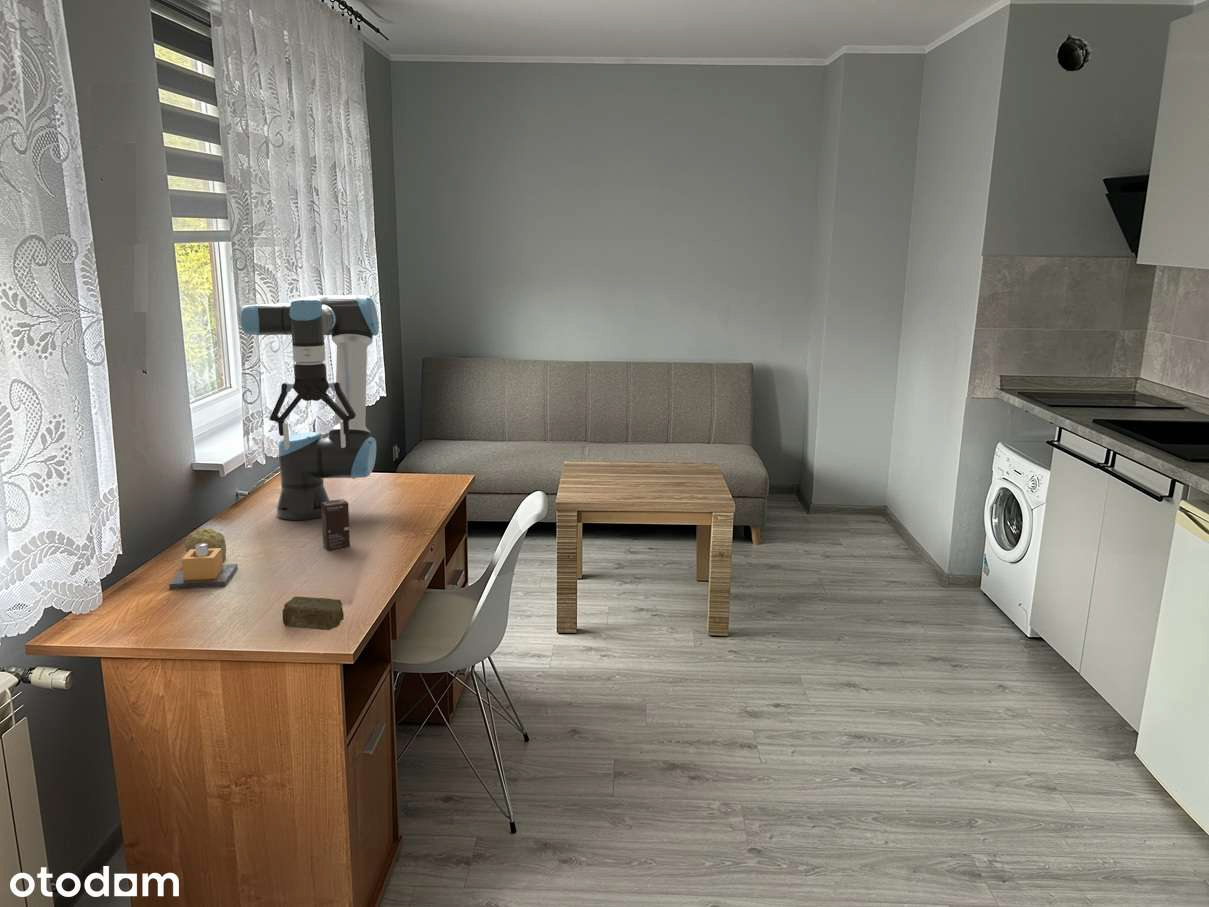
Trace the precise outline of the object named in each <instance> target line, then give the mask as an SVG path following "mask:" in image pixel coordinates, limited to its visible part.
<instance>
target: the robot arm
mask: <svg viewBox="0 0 1209 907" xmlns="http://www.w3.org/2000/svg"><path fill="white" fill-rule="evenodd" d="M379 323H380V322H379V316H378V313H377V307H376V304H375V302H374V299H373V298H372V297H370V296H368V295H358V294H355V295H354V294H353V295H352V294H351V295H349V294H348V295H344V294H343V295H341V294H339V295H327V294H326V295H321V294H320V295H315V296H314V295H313V296H308V297H302V298H295V299H291V300H290V302H289V303H275V304H274V303H273V304H249V305H248V304H247V305H244V306H243V307H242V308H241V312H240V326H241V329H242V331H243V332H244V334H246V335H251V336H252V335H253V336H276V335H277V336H281V335H284V336H289V335H290V336H291V341H292V344H291V345H292V361H293V362H294V363H295V364H294V365H293V373H294V382H293V383H289V382H288V381H285V382H283V383H282V384H281V385H280V386H281V388H280V389H281V390H280V393H279V395H278V396H279V397H278V399H277V400H276V404H275V406H274V407H273V410H272V411H271V412H272V413H271V415H270V417H269V420H270V421H271V422H276V423H277V425H278V435H279V436H281V437H283V438H282V439H281V440H280V441H279V442H278V455H277V456H278V460H279V471H280V483H281V490H280V494H279V499H278V501H277V505H276V516H277V517H278V518H280V519H283V520H288V521H303V520H307V521H308V520H313V519H317V518H322V510H321V502H326V501H331V500H330V498H329V494H328V493H327V490H326V488H325V485H324V479H355V480H356V479H359V478H360V479H361V478H367V477H368V476H370V475H371V474H372V472H373V470H374V467H375V463H376V458H377V440H376V439H375V438H374V437H373V436H372V435H371V431H370V430H369V429H368V428H367V426H366V417H367V416H366V414H367V413H366V411H367V410H366V408H367V406H366V405H367V373H368V371H367V370H368V367H367V364H368V347H369V346H370V345H371V344H372V343H373V338H374V337H375V336H377V335H379V333H380V332H379V331H380V326H379ZM325 336H331V341H332V342H333V343H334V344H335V345H336V364H335V366H336V368H335V372H336V373H335V382H328V379H327V378H328V376H327V364H326V363H325V361H326V360H327V358H326V345H325ZM292 389H293V390H294V392H295V393H297V395H296V396H295V397H294V399H293V400H292V401H291V403H290V404H289V405H288V406H287V407H286V409H285V410H284V411H283V413H281V415H279V414H280V410H281V408H283V404H284V403H285V400H286V399H287V398H286V397H287V395H288V393H290V392H291V390H292ZM329 389H331V390H332V391H333V392H335V400H333V398H331V396H330V395H329V393H327V392H328V390H329ZM320 400H322V401H323V402H324V403H325V404H326V405H327V406H328V407H329V408H330V409H331V410H332V411H333V412H334V425H333V426H332V428H331V429H330V430H329V431H328V437H322V435H321V433H320V432H318V431H316V432H315V431H312V432H311V431H310V432H309V431H308V432H303V433H301V432H300V433H296V434H293V435H292V434H291V435H290V433H289V430H290V429H289V422H288V421H286V419H287V417H289V416H290V414H291V413H292V411H294V409H295V408H296V406H297V405H299V403H300V401H305V402H310V401H314V402H316V401H317V402H318V401H320Z"/></svg>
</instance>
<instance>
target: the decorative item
mask: <svg viewBox="0 0 1209 907" xmlns="http://www.w3.org/2000/svg"><path fill="white" fill-rule="evenodd" d="M201 543H206V544H208V549H212V548H222V559H223V561H225V560H226V559H227V558H226V557H227V556H226V555H227V544H226V539H225V537H224V535H223V534H222V533H221V532H218V531H217V530H214V529H213V528H207V527H204V528H202V529H197V530H195V531H193V532H191V533H189V535H188V536H187V538H186V540H185V543H184V548H185V555H186V554H187V552H188V551H189V550H190V549H196V548H195V545H197V544H201Z"/></svg>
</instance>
